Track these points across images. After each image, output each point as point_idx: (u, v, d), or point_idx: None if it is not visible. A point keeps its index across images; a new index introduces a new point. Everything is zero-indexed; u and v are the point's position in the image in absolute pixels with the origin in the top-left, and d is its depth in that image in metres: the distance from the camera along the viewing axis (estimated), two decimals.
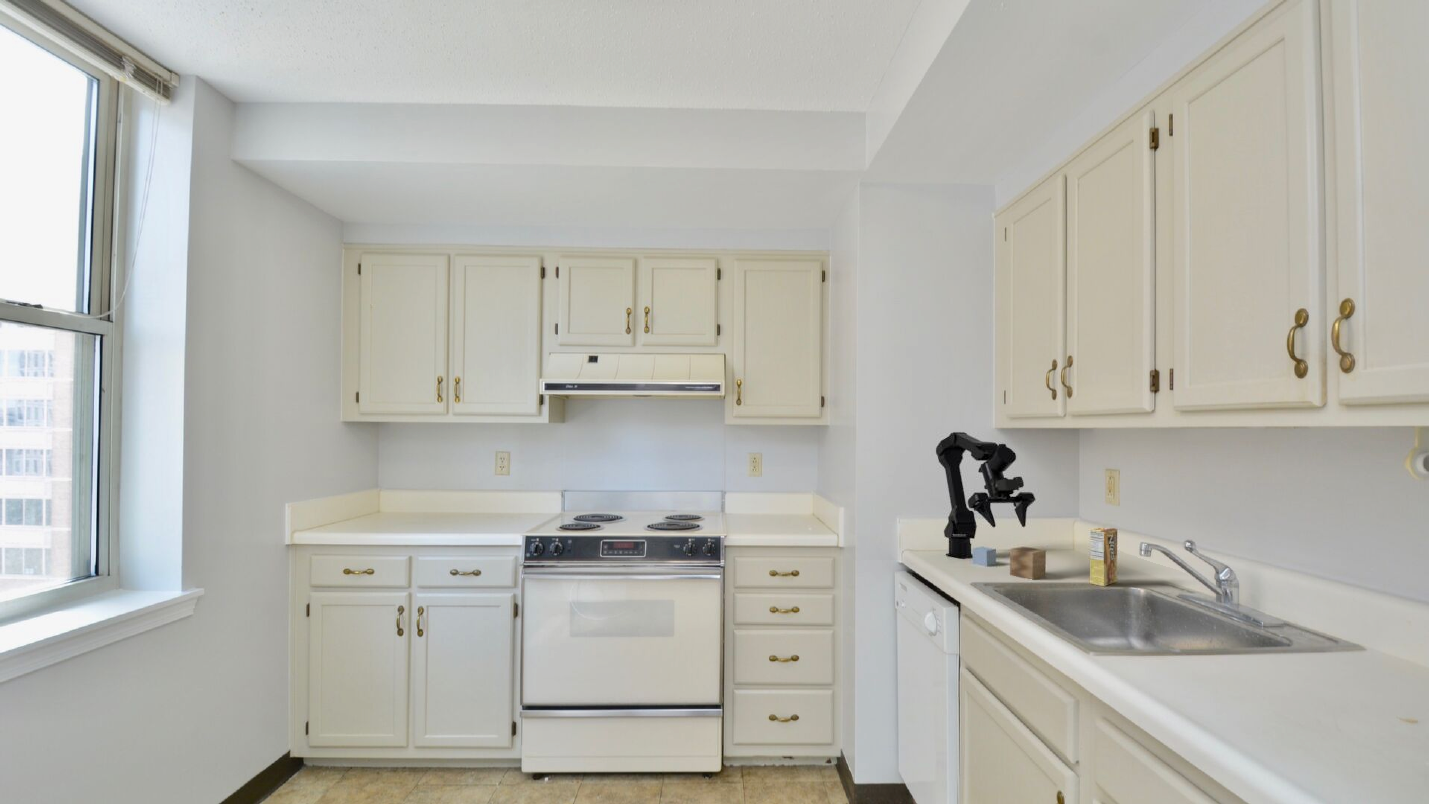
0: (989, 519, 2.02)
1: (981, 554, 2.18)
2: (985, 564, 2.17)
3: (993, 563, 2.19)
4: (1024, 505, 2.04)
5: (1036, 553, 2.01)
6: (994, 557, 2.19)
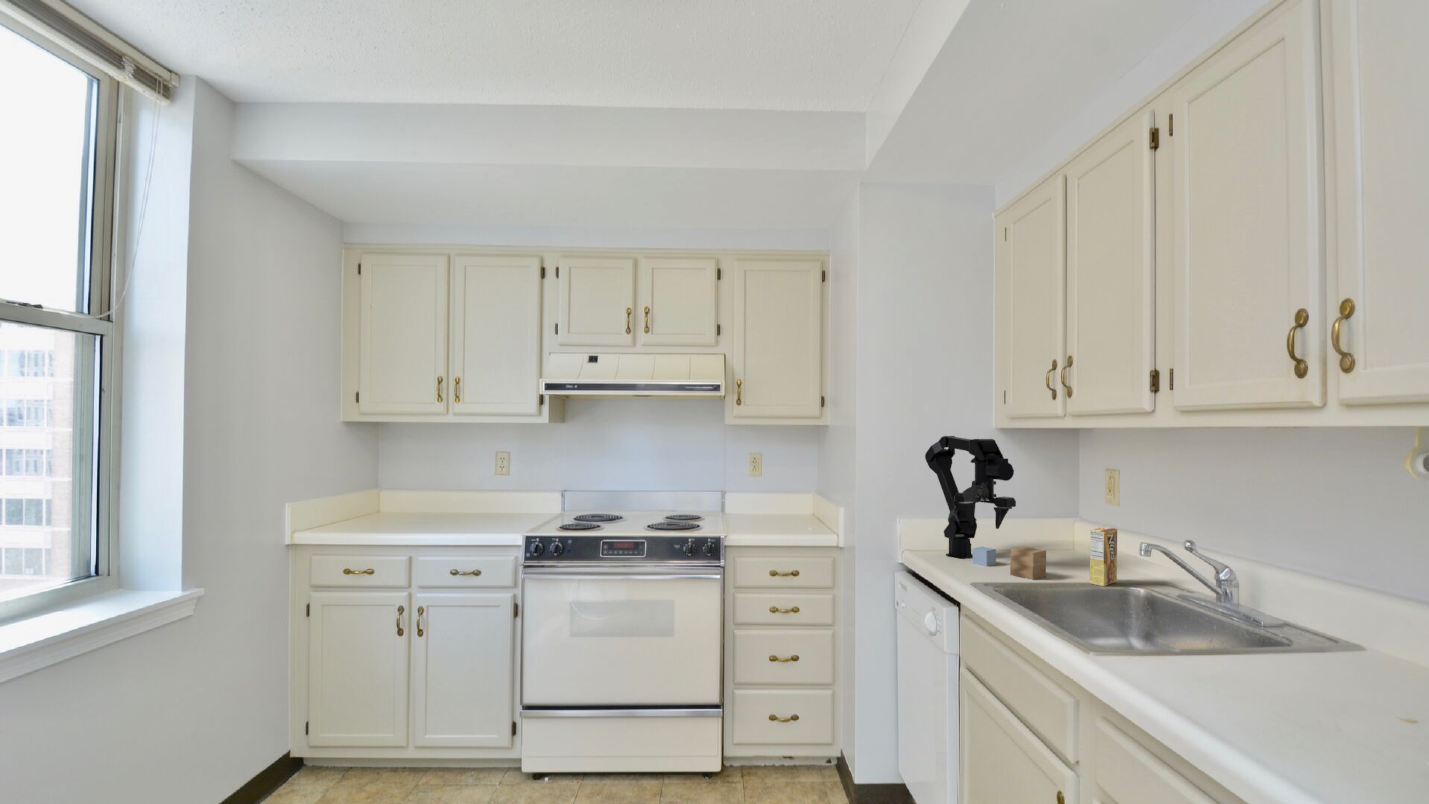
0: None
1: (981, 554, 2.18)
2: (985, 564, 2.17)
3: (993, 563, 2.19)
4: (996, 511, 2.15)
5: (1037, 553, 2.00)
6: (994, 557, 2.19)
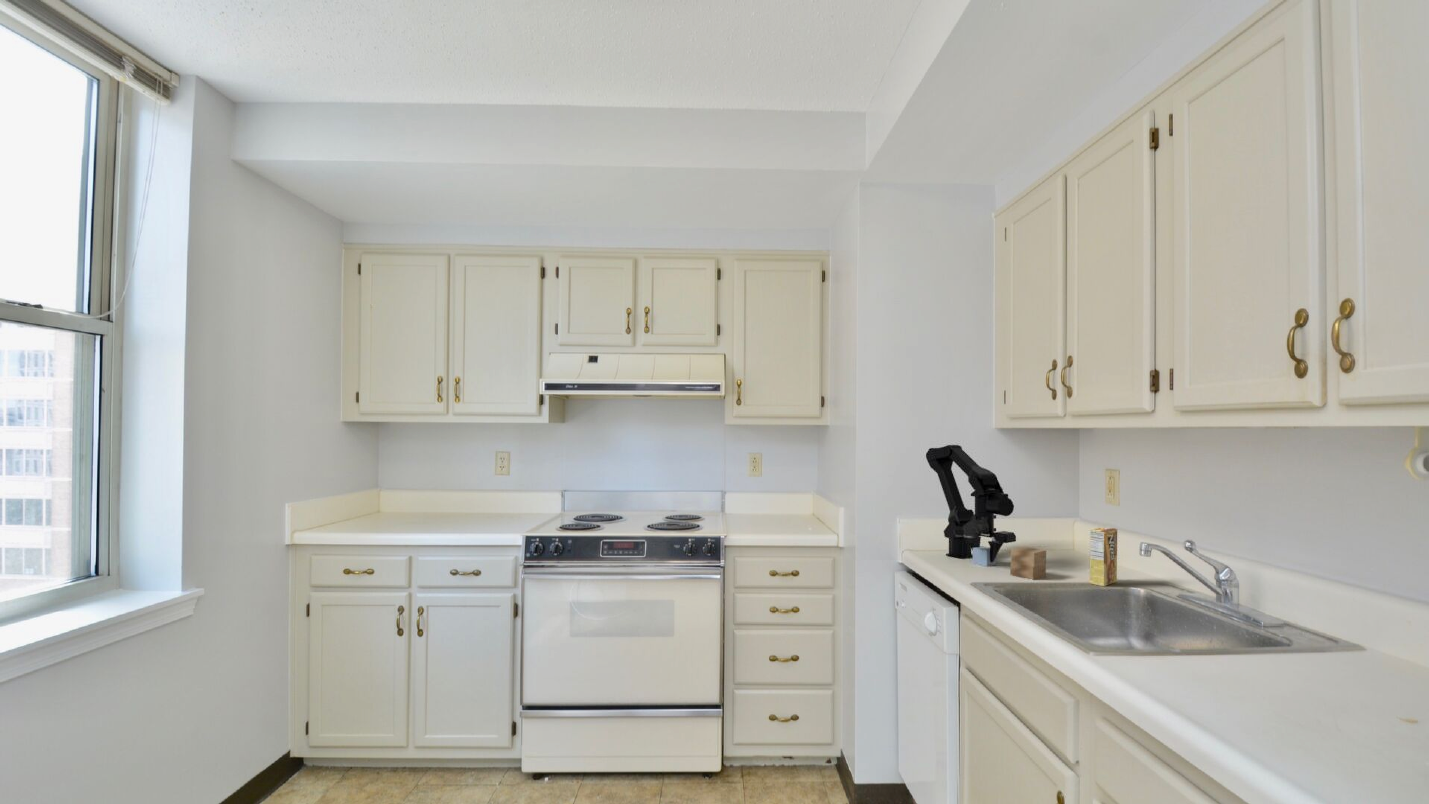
0: None
1: (981, 554, 2.18)
2: (985, 564, 2.17)
3: (993, 563, 2.19)
4: (990, 544, 2.16)
5: (1037, 553, 2.00)
6: None
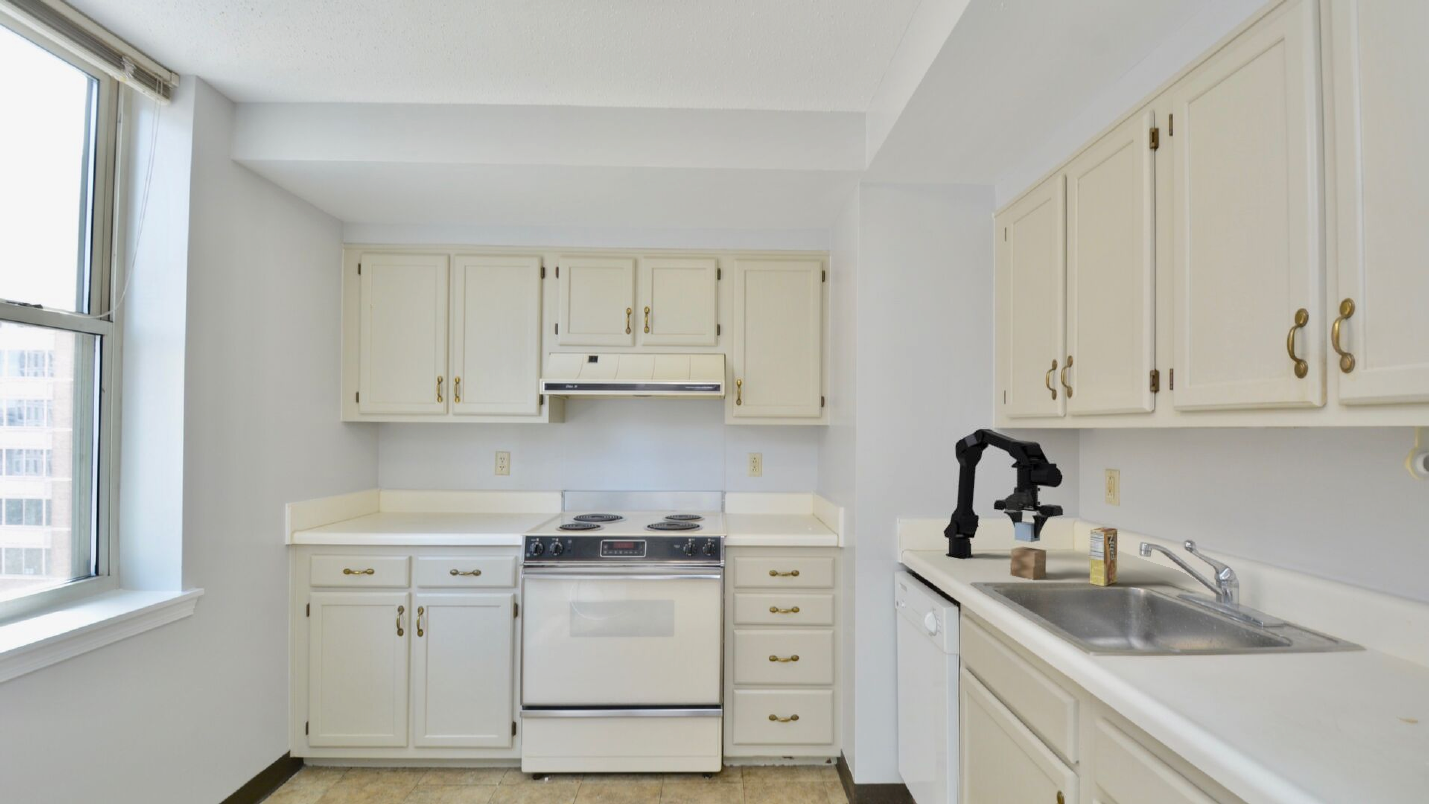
0: None
1: (1025, 529, 2.02)
2: (1029, 539, 2.01)
3: (1037, 539, 2.03)
4: (1035, 519, 2.00)
5: (1037, 553, 2.01)
6: None
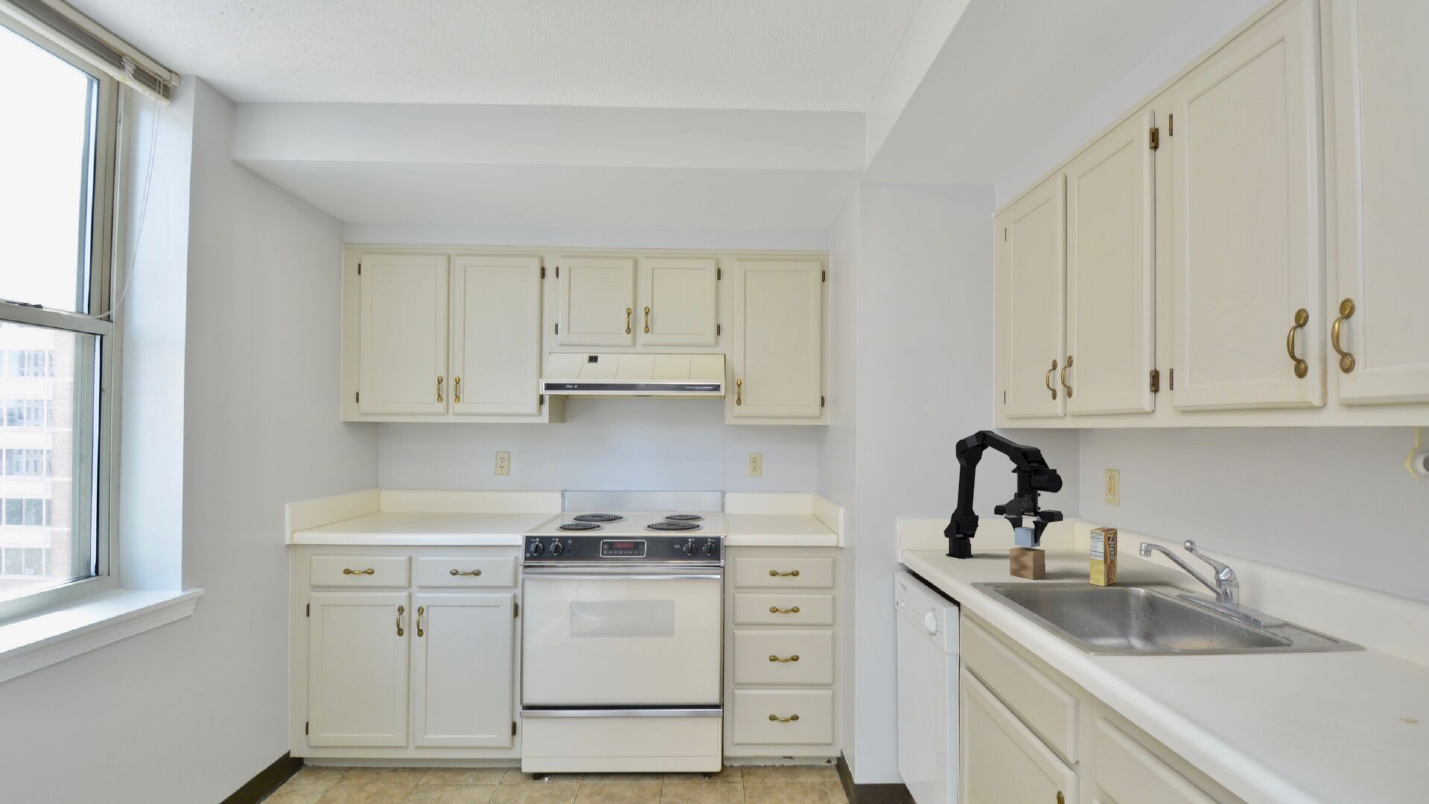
0: None
1: (1025, 534, 2.02)
2: (1029, 545, 2.01)
3: (1037, 544, 2.03)
4: (1035, 524, 2.00)
5: (1036, 553, 2.01)
6: None
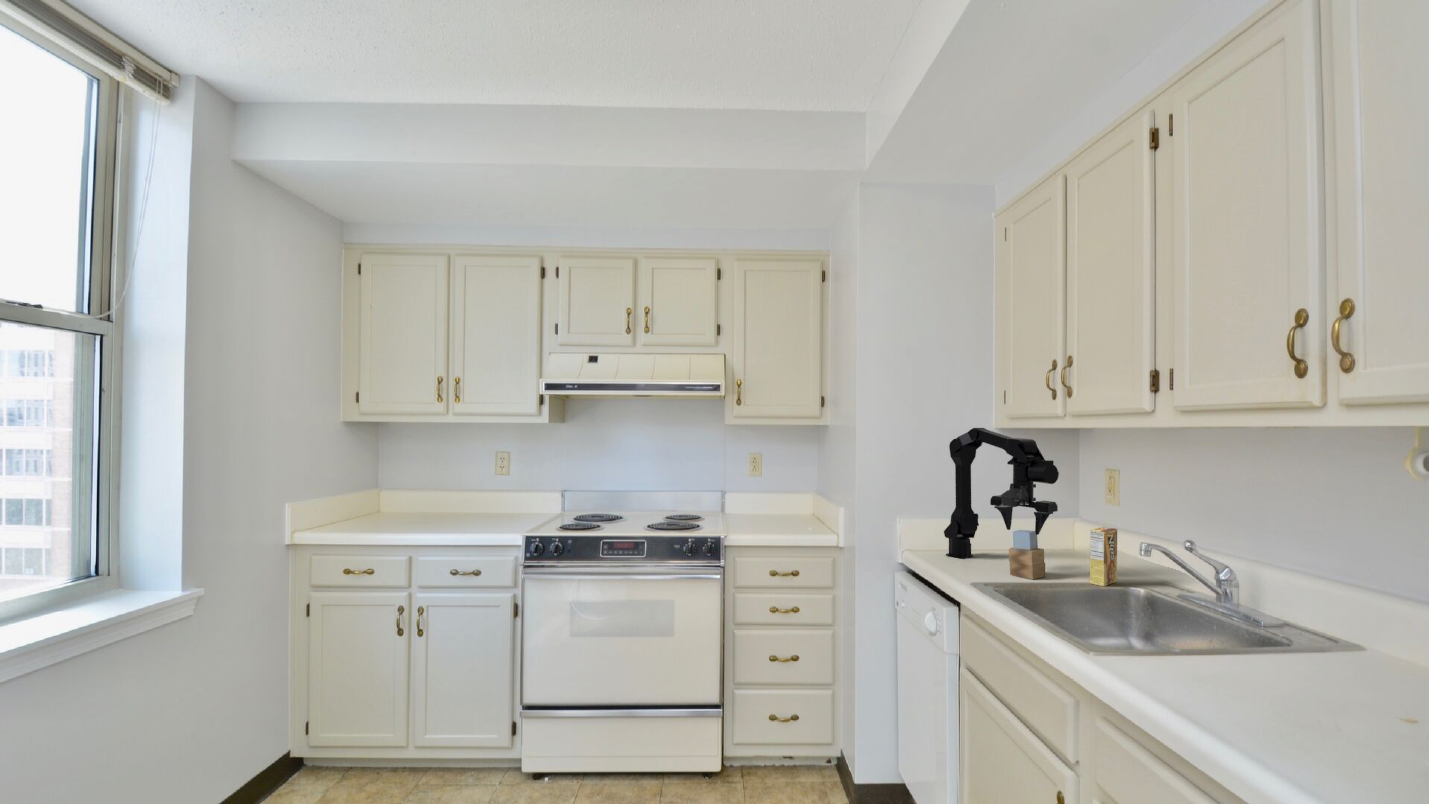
0: None
1: (1023, 537, 2.03)
2: (1028, 547, 2.02)
3: (1035, 546, 2.04)
4: (1036, 516, 2.03)
5: (1035, 552, 2.01)
6: (1036, 540, 2.04)
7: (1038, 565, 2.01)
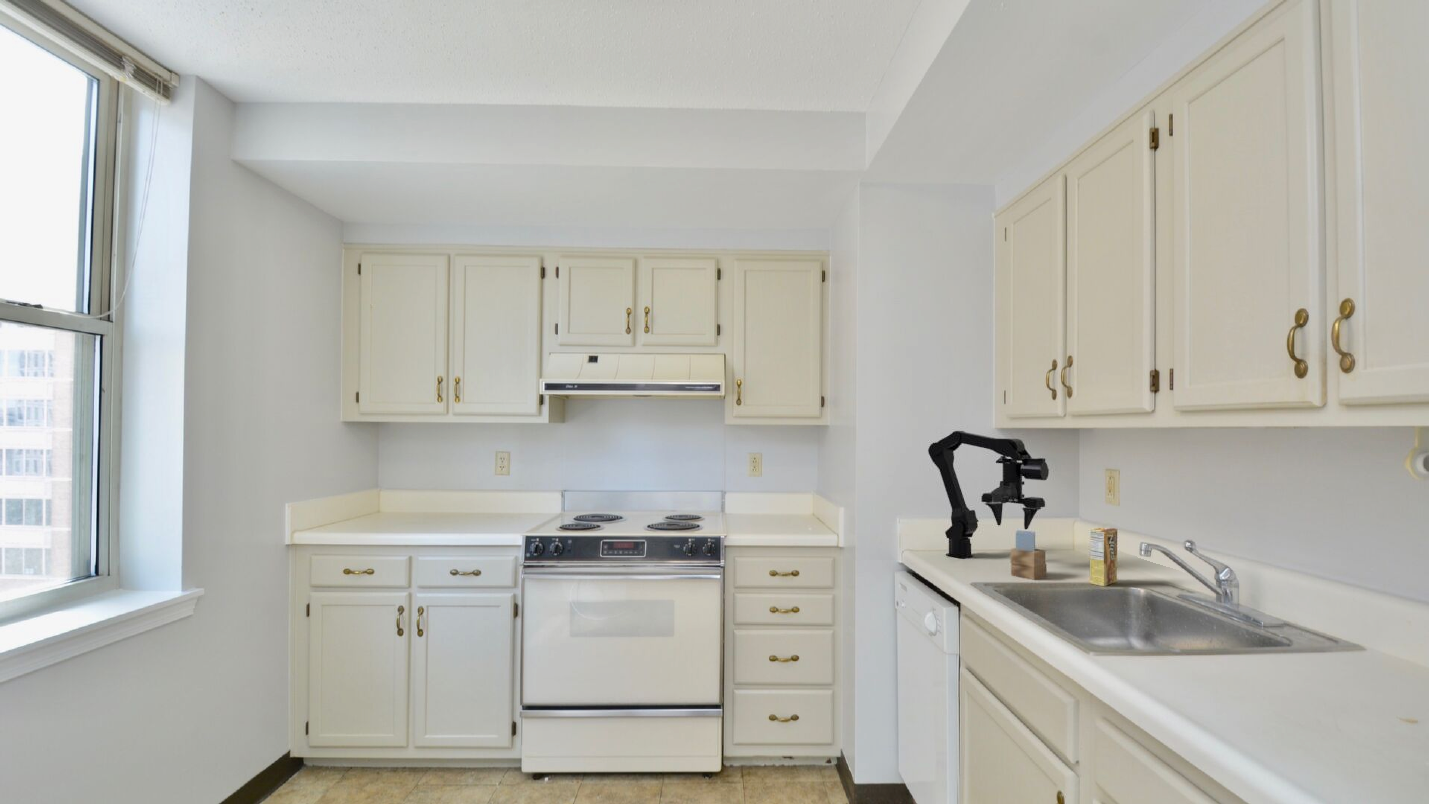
0: None
1: (1028, 538, 2.03)
2: (1032, 549, 2.02)
3: None
4: (1025, 511, 2.14)
5: (1037, 553, 2.00)
6: None
7: (1039, 566, 2.01)
